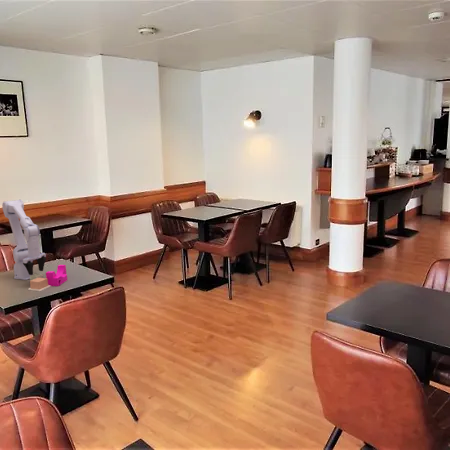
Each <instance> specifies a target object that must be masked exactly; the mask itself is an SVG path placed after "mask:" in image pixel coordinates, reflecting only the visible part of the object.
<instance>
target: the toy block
mask: <svg viewBox="0 0 450 450" xmlns="http://www.w3.org/2000/svg"><path fill="white" fill-rule="evenodd" d="M45 278H47V279H48V285H51V287H60V286H61V285H62V284H64V283H65V282H67V281H68V274H67V266H66V264H58V265H57V268H56V271H55V270H47V271H46V272H45Z"/></svg>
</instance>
